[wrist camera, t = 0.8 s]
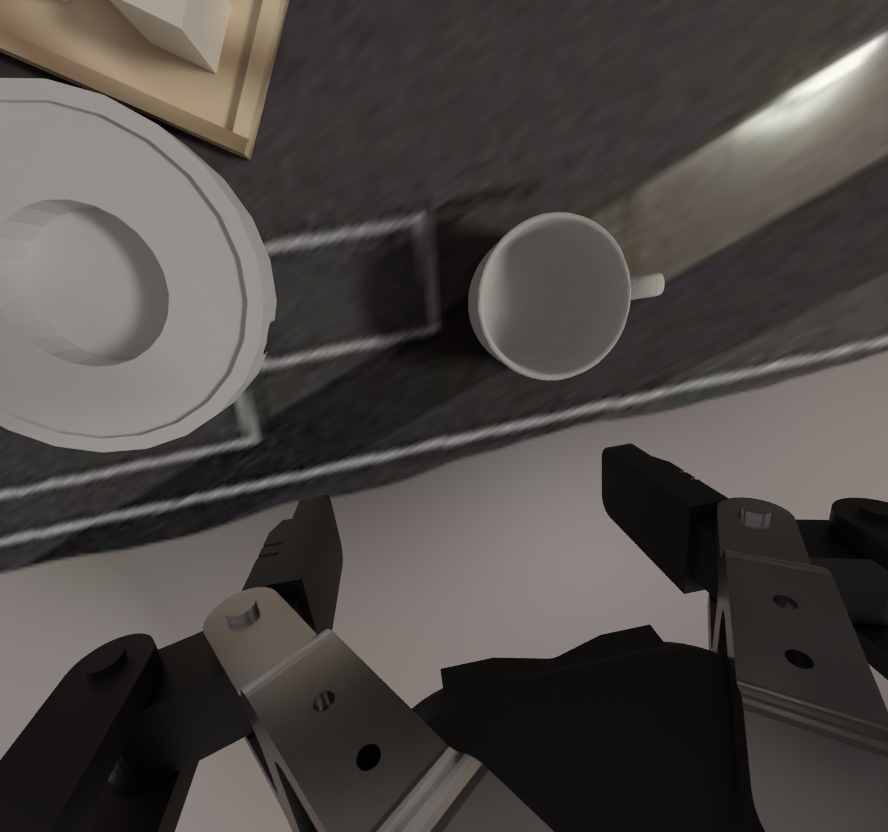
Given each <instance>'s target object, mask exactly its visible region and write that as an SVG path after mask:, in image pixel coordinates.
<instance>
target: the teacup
mask: <svg viewBox="0 0 888 832" xmlns="http://www.w3.org/2000/svg"><path fill="white" fill-rule="evenodd" d="M663 290H664V277H663V275H662V274H661V273H650V274H641V275H634V276H630V275H629V271H628V267H627V264H626V261H625V258H624V256H623V253H622V251H621V249H620V247H619V246H618V244H617V243H616V241H615V240H614V238H613V237H612V236H611V235H610V234H609V233H608V232H607V231H606V230H605V229H604V228H603V227H601V226H600V225H599V224H597V223H596V222H594V221H592V220H590V219H588V218H586V217H583V216H579V215H576V214H572V213H567V212H550V213H545V214H541V215H537V216H535V217H532V218H530V219H527V220H525V221H523V222H521V223H520V224H518V225H516V226H515V227H514V228H512V229H511V230H510V231H509V232H507V233H506V234H505V235H504V236H503V237H502V238H501V240H500V241H499V242H498V243H497V244H496V245H494V246H493V247H492V248H491V249H490V250H489V252H488V253H487V254H486V255H485V256H484V258H483V259H482V260H481V262H480V264H479V265H478V267H477V269H476V271H475V273H474V276H473V278H472V281H471V285H470V289H469V296H468V311H469V317H470V321H471V325H472V328H473V330H474V332H475V334H476V336H477V338H478V340H479V341H480V343H481V344H482V345H483V346H484V348H485V349H486V350H487V351H488V352H489V353H490V354H491V355H492V356H494V357H495V358H496V359H497V360H499V361H501V362H502V363H504V364H505V365H506V366H508V367H509V368H511V369H512V370H514V371H516V372H517V373H519V374H522V375H524V376H527V377H530V378H534V379H540V380H561V379H565V378H570V377H572V376H574V375H577V374H580V373H583V372H584V371H586V370H588V369H590V368H591V367H593V366H594V365H596V364H597V363H599V362H600V361H601V360H602V359H603V358H604V357H605V356H606V355H607V354H608V353H609V352H610V350H611V349H612V348H613V346H614V345H615V344H616V342H617V340H618V338H619V337H620V335H621V333H622V331H623V329H624V326H625V323H626V320H627V316H628V312H629V307H630V300H633V299H640V298H646V297H653V296H657V295H660V294H661V293H662V292H663Z"/></svg>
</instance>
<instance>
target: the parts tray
mask: <svg viewBox="0 0 888 832" xmlns="http://www.w3.org/2000/svg"><path fill="white" fill-rule="evenodd" d="M228 1H229V3H230V5H231V8H230V13H229V18H228V22H227V27H226V32H225V36H224V41H223V46H222V50H221V55H220V59H219V64H218V69H217V73H216V74H215V73H213V72H211V71H209V70H206V69H204V68H202V67H200V66H198V65H196V64H194V63H192V62H189V61H187V60H185V59H183V58H181V57H179V56H177V55H175V54H172V53H170V52H168V51H166V50H164V49H162V48H160V47H158V46H156V45H153V44H151V43H150V42H149V41H148V40H147V39H146V38H145V37H144V36H143V35H142V33H141V32H140V31H139V30H138V29H137V28H136V27H135V26H134V25H133V24H132V23H131V22H130V21H129V20H128V19H127V18H126V16H125V15H124V14H123V13H122V12H121V11H120V10H119V9H118V8H117V7H116V6H115V5H114V4H113V3H112V2H111V1H110V0H72V3H71V5H69V4H66V3H64V2H62V1H60V0H0V52H2V53H4V54H7V55H9V56H11V57H13V58H16V59H18V60H20V61H23V62H25V63H27V64H30V65H32V66H34V67H36V68H39V69H41V70H43V71H46V72H48V73H50V74H53V75H55V76H57V77H60V78H62V79H64V80H66V81H69V82H71V83H73V84H76V85H78V86H80V87H83V88H85V89H87V90H89V91H92V92H95V93H99V94H102V95H105V96H107V97H109V98H111V99H112V100H114V101H116V102H118V103H120V104H122V105H124V106H126V107H129V108H131V109H133V110H136V111H138V112H140V113H142V114H145V115H147V116H149V117H152V118H154V119H156V120H159V121H161V122H163V123H165V124H168V125H170V126H172V127H175V128H177V129H179V130H182V131H184V132H186V133H188V134H191V135H193V136H195V137H198V138H200V139H202V140H205V141H207V142H209V143H212V144H214V145H216V146H218V147H221V148H223V149H225V150H228V151H230V152H232V153H235V154H237V155H239V156H241V157H244V158H246V159H248V160H251V157H252V152H253V148H254V144H255V140H256V136H257V132H258V128H259V124H260V119H261V115H262V111H263V107H264V103H265V99H266V95H267V91H268V86H269V82H270V78H271V74H272V70H273V66H274V62H275V58H276V53H277V49H278V45H279V41H280V37H281V33H282V29H283V25H284V20H285V16H286V12H287V8H288V4H289V0H228Z"/></svg>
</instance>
